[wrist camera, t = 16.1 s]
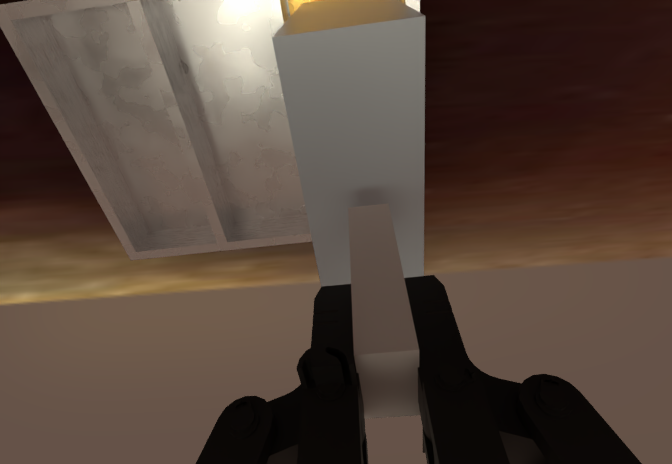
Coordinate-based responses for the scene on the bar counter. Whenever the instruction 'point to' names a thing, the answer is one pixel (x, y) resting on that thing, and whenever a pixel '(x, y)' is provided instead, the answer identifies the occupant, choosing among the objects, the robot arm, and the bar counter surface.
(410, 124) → the blanking panel
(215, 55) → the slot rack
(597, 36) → the bar counter surface
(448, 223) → the bar counter surface
